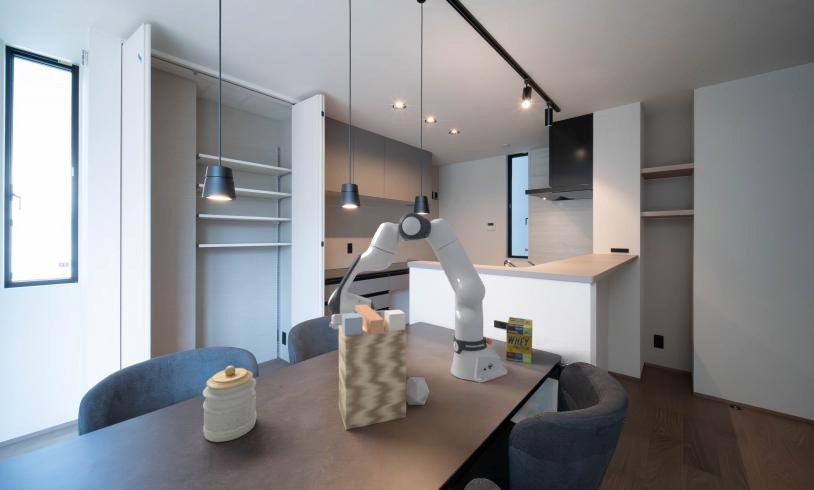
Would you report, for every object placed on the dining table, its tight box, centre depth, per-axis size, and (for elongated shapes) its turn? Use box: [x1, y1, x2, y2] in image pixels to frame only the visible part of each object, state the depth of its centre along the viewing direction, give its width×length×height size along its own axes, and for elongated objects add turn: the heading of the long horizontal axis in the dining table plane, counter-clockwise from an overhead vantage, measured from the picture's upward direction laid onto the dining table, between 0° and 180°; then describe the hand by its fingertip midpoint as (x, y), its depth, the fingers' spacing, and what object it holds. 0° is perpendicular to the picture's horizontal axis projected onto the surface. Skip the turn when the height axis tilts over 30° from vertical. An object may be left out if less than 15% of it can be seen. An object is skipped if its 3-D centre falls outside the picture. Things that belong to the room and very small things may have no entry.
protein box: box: [505, 316, 533, 365], centre depth 142 cm, size 10×15×16 cm
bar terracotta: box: [355, 305, 384, 335], centre depth 100 cm, size 4×21×4 cm, turn 21°
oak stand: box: [338, 325, 407, 431], centre depth 96 cm, size 18×12×26 cm
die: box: [406, 376, 430, 406], centre depth 102 cm, size 8×9×10 cm
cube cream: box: [384, 309, 406, 332], centre depth 96 cm, size 5×5×5 cm
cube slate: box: [342, 313, 363, 336], centre depth 91 cm, size 5×5×5 cm
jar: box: [202, 365, 257, 443], centre depth 88 cm, size 13×13×18 cm
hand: (364, 312), depth 105 cm, fingers open, 5 cm apart
